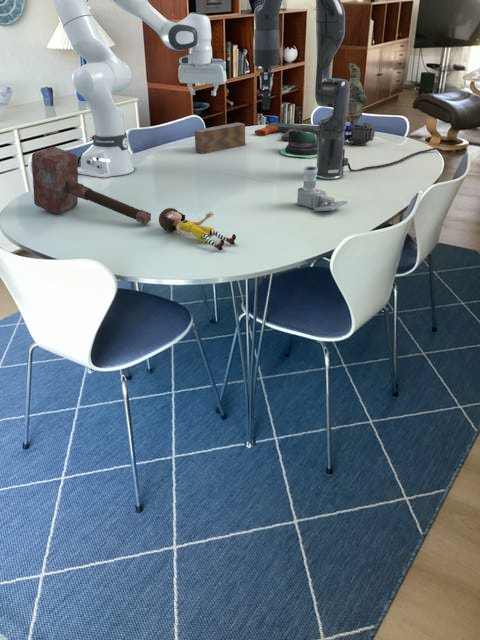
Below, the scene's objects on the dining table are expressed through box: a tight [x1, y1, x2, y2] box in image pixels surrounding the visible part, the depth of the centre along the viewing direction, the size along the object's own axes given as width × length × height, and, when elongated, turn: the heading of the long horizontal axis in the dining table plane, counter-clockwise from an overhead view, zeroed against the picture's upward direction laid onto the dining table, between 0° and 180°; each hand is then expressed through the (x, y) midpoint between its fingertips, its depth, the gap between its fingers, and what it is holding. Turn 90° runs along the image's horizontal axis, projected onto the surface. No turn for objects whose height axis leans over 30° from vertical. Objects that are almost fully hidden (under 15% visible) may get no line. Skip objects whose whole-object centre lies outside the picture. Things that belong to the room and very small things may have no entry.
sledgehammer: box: [31, 146, 152, 226], centre depth 169 cm, size 17×10×40 cm
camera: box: [296, 165, 349, 212], centre depth 171 cm, size 9×12×15 cm
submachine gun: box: [254, 122, 319, 141], centre depth 263 cm, size 32×3×25 cm
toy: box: [344, 122, 376, 146], centre depth 244 cm, size 9×9×15 cm
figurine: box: [158, 207, 237, 251], centre depth 153 cm, size 13×8×25 cm
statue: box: [345, 62, 368, 127], centre depth 262 cm, size 11×9×30 cm
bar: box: [193, 122, 246, 154], centre depth 243 cm, size 24×5×9 cm, turn 129°
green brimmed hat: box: [279, 128, 318, 159], centre depth 234 cm, size 15×19×20 cm
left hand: (203, 95), depth 229 cm, fingers open, 8 cm apart
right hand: (266, 107), depth 167 cm, fingers open, 8 cm apart
